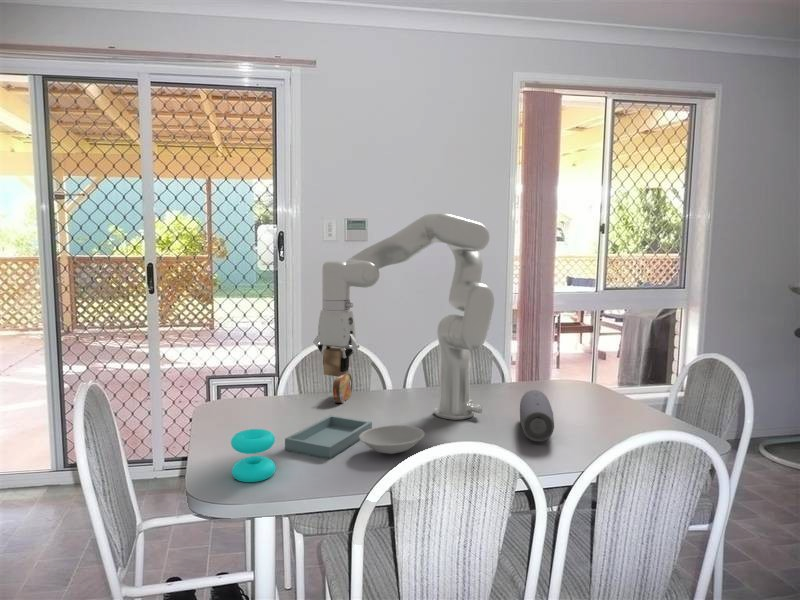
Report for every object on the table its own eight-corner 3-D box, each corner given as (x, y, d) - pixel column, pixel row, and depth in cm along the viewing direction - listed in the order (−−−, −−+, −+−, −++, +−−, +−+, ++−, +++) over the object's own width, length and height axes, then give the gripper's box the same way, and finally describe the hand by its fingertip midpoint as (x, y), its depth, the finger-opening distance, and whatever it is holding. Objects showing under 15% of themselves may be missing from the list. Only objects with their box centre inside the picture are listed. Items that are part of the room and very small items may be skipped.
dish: (372, 469, 141) (372, 449, 141) (350, 449, 154) (350, 431, 153) (435, 456, 149) (435, 438, 149) (409, 439, 162) (409, 421, 161)
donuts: (282, 430, 139) (258, 444, 130) (283, 470, 140) (259, 487, 131) (247, 425, 143) (221, 438, 133) (248, 464, 144) (223, 480, 135)
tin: (340, 406, 192) (340, 381, 191) (331, 405, 193) (331, 380, 192) (353, 394, 207) (353, 370, 206) (344, 393, 207) (344, 370, 206)
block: (348, 372, 165) (348, 348, 164) (338, 376, 160) (338, 351, 160) (333, 370, 167) (333, 346, 166) (323, 374, 163) (323, 349, 162)
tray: (371, 432, 167) (371, 422, 166) (330, 459, 147) (330, 447, 147) (330, 425, 173) (330, 415, 172) (285, 450, 153) (284, 438, 153)
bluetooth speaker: (555, 447, 156) (556, 411, 155) (520, 444, 158) (521, 409, 157) (549, 420, 178) (550, 388, 177) (518, 418, 180) (519, 387, 179)
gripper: (369, 306, 161) (368, 370, 163) (318, 302, 169) (318, 364, 171) (355, 309, 154) (354, 376, 157) (302, 305, 162) (303, 369, 164)
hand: (336, 369), depth 164 cm, fingers closed on block, 4 cm apart
